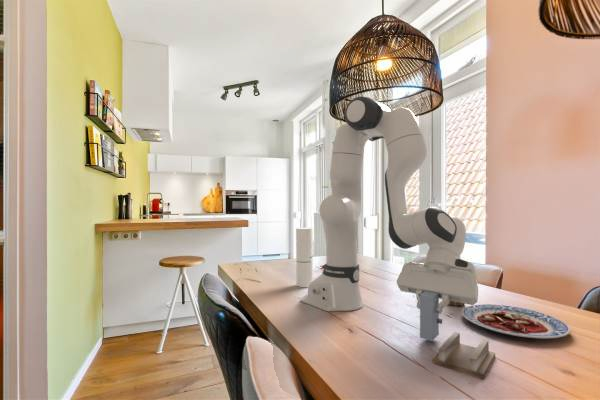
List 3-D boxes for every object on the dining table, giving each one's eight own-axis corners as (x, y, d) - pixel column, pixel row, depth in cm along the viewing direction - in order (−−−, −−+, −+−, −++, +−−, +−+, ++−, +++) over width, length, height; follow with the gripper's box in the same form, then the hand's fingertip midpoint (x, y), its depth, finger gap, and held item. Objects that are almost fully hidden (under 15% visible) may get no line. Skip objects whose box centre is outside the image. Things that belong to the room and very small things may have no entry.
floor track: (432, 362, 70) (432, 347, 70) (449, 344, 79) (448, 330, 79) (483, 379, 63) (483, 361, 63) (495, 357, 72) (494, 341, 72)
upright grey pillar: (419, 337, 80) (420, 294, 80) (426, 331, 84) (427, 290, 84) (436, 342, 78) (436, 297, 78) (442, 335, 81) (442, 293, 81)
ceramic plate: (532, 354, 74) (532, 341, 74) (443, 318, 98) (443, 308, 98) (591, 335, 84) (591, 324, 84) (498, 306, 108) (497, 298, 108)
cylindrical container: (315, 284, 138) (315, 228, 138) (307, 288, 132) (307, 229, 132) (302, 282, 142) (301, 227, 142) (293, 286, 136) (292, 228, 136)
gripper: (401, 254, 93) (386, 295, 86) (479, 264, 80) (469, 313, 72) (407, 267, 97) (393, 307, 89) (483, 278, 83) (474, 326, 76)
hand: (428, 310), depth 81 cm, fingers closed on upright grey pillar, 3 cm apart
